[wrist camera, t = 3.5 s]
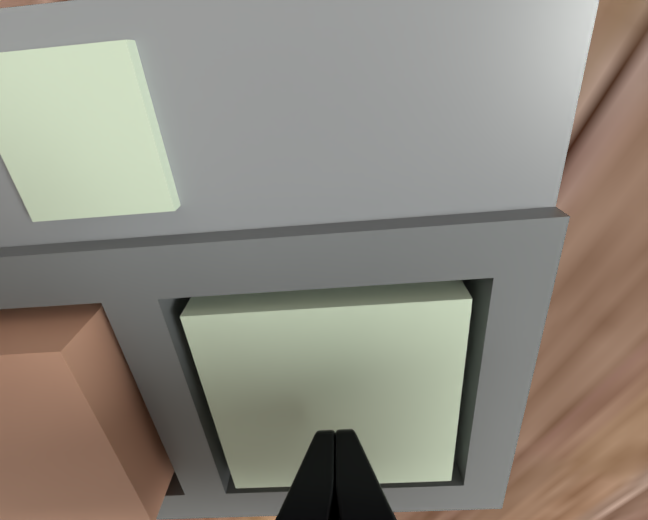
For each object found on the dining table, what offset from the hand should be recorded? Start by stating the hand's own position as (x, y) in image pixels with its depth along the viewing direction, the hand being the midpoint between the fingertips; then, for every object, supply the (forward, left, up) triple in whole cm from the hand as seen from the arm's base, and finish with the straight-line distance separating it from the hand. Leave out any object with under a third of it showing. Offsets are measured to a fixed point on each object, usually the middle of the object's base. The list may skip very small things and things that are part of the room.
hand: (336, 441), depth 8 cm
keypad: (+2, +8, -5) cm, 9 cm away
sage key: (0, 0, -3) cm, 3 cm away
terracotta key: (0, +8, -2) cm, 8 cm away
